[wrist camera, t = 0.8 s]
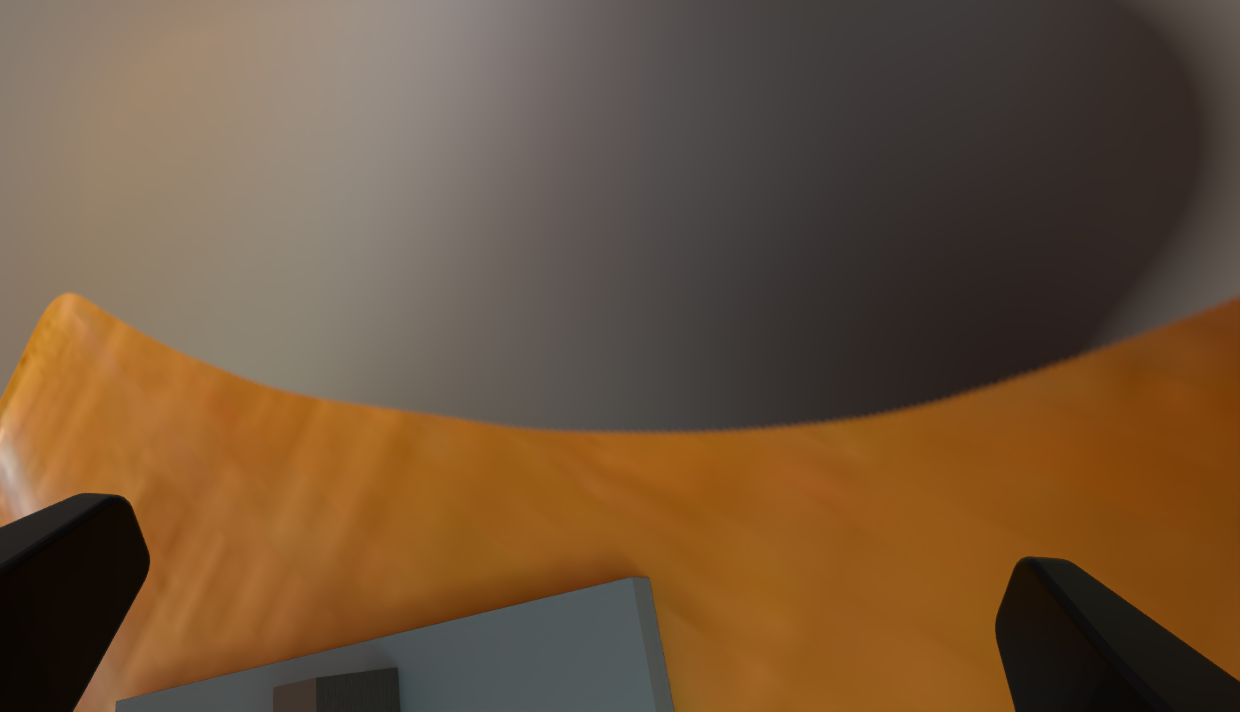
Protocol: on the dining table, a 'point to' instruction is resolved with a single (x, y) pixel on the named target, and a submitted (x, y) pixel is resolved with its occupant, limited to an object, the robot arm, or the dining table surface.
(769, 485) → the dining table surface
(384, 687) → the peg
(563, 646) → the board
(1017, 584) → the robot arm
